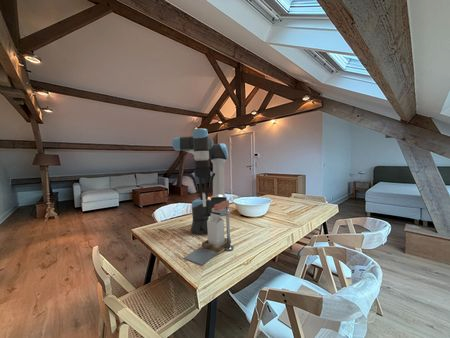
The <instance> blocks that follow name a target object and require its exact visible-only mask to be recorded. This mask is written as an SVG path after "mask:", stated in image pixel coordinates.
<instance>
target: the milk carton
mask: <svg viewBox="0 0 450 338" xmlns="http://www.w3.org/2000/svg"><path fill="white" fill-rule="evenodd" d="M224 222H225V221H224V219H223V218H222V217H220V215H217V214H212V213H211V216H209V219H208V221H207V229H208V233H207V240H208V244H211V245H214V246H220V245H221V244H223V243H224V242H225V238H226V237H225V223H224Z"/></svg>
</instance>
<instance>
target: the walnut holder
mask: <svg viewBox="0 0 450 338" xmlns="http://www.w3.org/2000/svg"><path fill="white" fill-rule="evenodd" d="M230 243H231V244H232V239H231V238H230ZM225 246H227V237H225V242H224V243H223V244H221V245H220V246H214V245H211V244H208V239H206V240H205V241H203V242H202V243H201V247H202V248H205V249H208V250H211V251H214V252H217V253H220V252H222V251H223V250H225Z"/></svg>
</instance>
